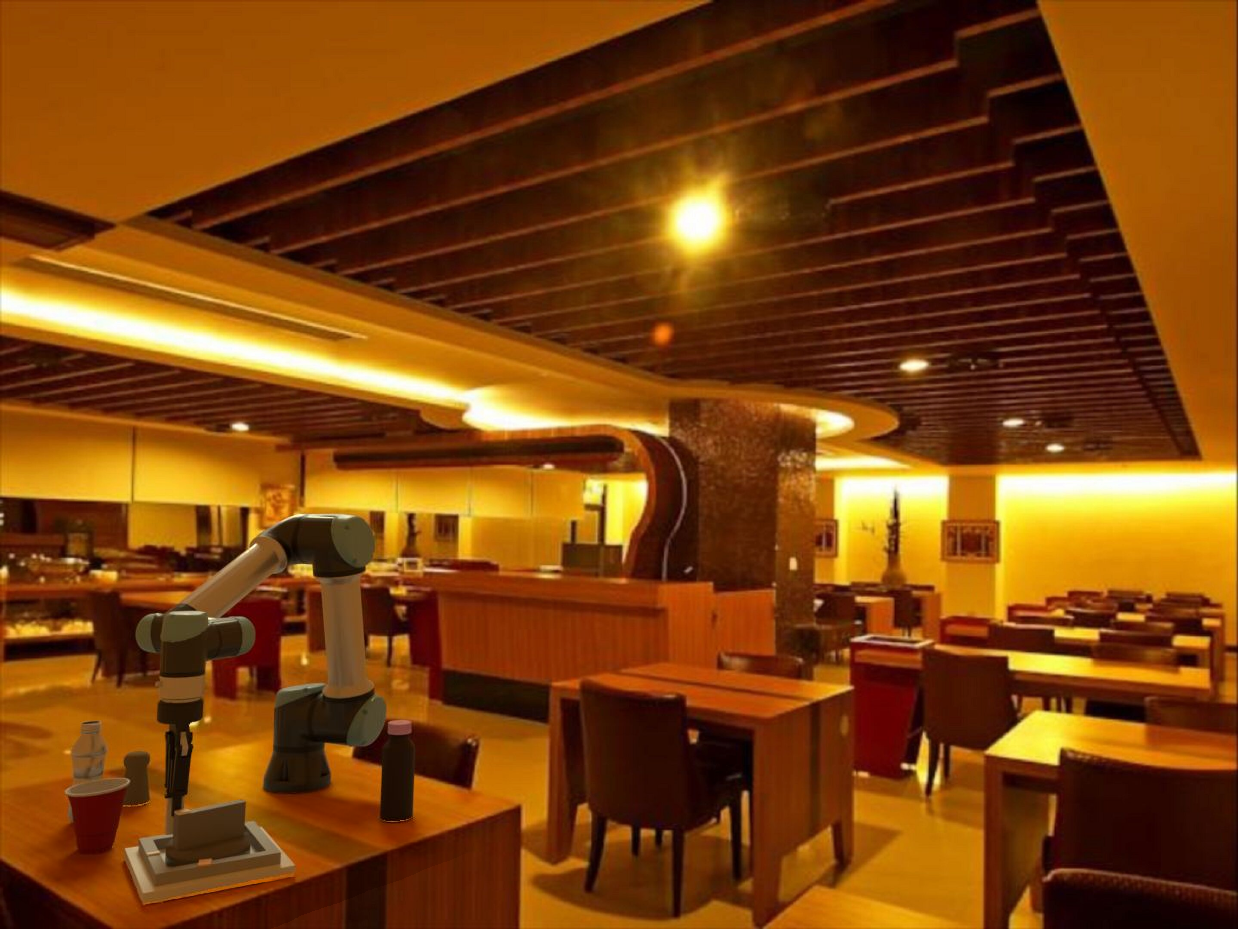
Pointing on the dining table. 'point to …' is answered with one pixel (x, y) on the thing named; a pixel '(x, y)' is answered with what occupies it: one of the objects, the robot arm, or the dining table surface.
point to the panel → (199, 883)
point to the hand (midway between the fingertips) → (173, 832)
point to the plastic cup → (97, 812)
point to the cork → (137, 777)
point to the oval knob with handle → (208, 834)
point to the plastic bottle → (88, 755)
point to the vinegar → (397, 773)
